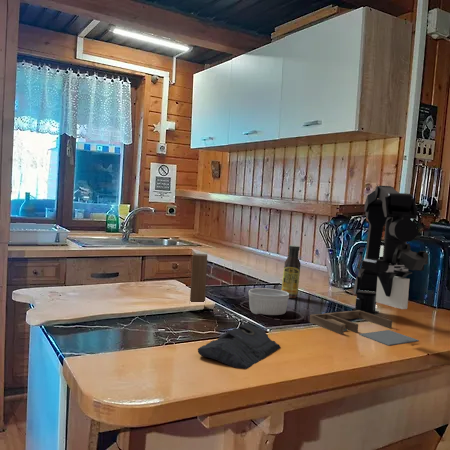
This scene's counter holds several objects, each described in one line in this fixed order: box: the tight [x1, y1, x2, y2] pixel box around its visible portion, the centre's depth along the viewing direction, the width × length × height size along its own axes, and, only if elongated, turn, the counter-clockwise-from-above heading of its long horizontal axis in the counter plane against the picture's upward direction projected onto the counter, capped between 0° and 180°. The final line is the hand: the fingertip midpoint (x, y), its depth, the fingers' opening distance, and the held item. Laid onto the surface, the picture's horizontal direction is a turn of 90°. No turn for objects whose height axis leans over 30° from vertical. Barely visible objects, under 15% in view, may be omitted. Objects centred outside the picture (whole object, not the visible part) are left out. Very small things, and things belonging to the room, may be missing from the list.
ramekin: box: [248, 287, 290, 316], centre depth 150 cm, size 13×13×7 cm
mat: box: [358, 329, 420, 347], centre depth 127 cm, size 12×10×1 cm
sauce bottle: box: [281, 244, 301, 299], centre depth 177 cm, size 6×6×20 cm
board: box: [376, 276, 411, 310], centre depth 126 cm, size 2×9×8 cm, turn 30°
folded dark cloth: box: [197, 322, 281, 370], centre depth 111 cm, size 15×22×5 cm
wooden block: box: [189, 252, 208, 302], centre depth 150 cm, size 9×4×18 cm, turn 0°
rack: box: [309, 310, 393, 335], centre depth 138 cm, size 20×13×3 cm, turn 120°
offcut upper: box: [326, 319, 346, 330], centre depth 134 cm, size 3×6×2 cm, turn 25°
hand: (390, 296), depth 127 cm, fingers closed on board, 2 cm apart
